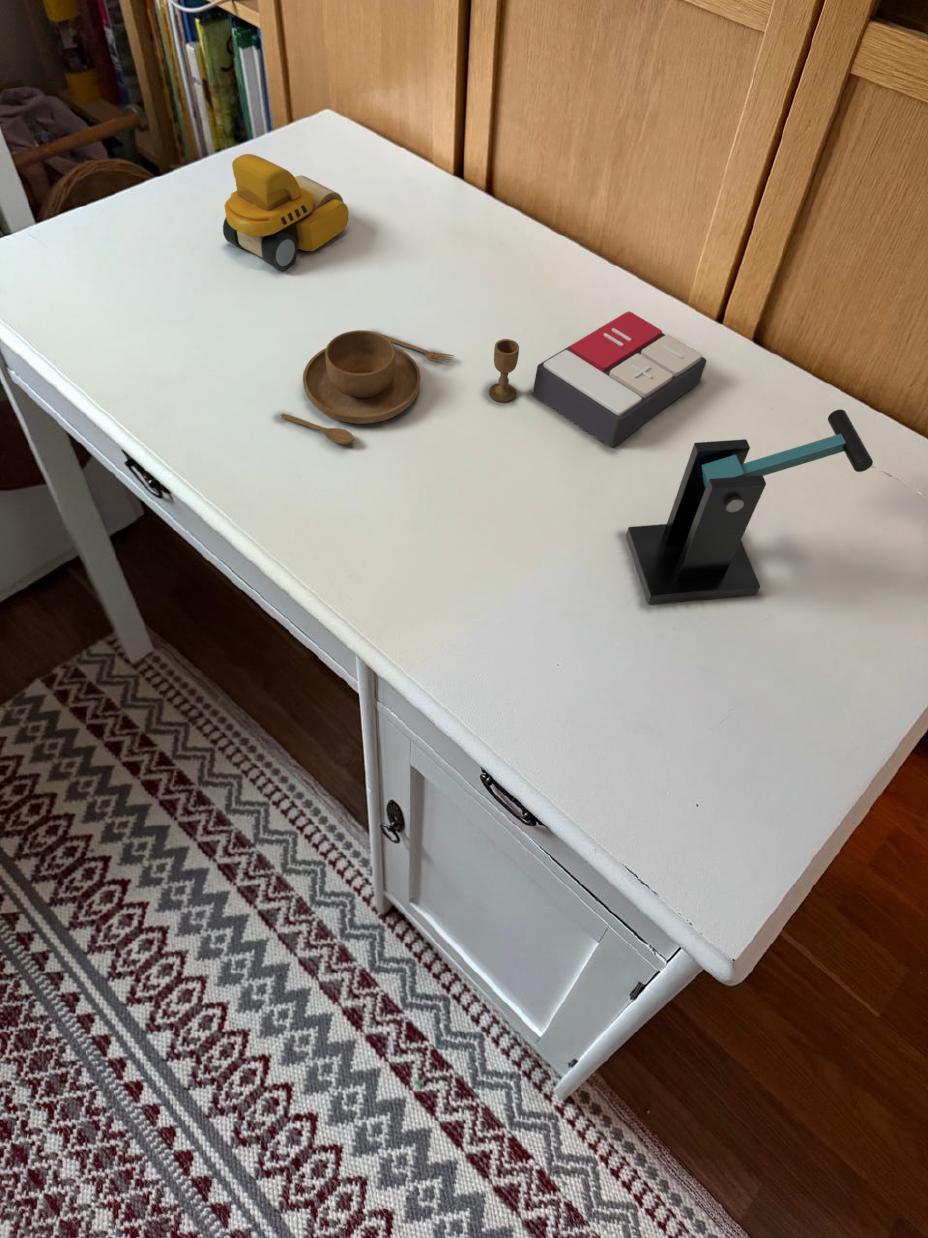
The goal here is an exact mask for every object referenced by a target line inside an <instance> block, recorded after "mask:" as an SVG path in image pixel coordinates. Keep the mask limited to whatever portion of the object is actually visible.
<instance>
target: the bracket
mask: <svg viewBox="0 0 928 1238" xmlns="http://www.w3.org/2000/svg"><path fill="white" fill-rule="evenodd" d="M750 450H751V446H750V445H749V442H748V440H747V439H745V438H744V439H729V440H716V441H715V440H713V441H701V442H694V443H693V445H692V449H691V452H690V455H689V458H688V460H687V464H686V466H685V470H684V472H683V475H682V478H681V480H680V484H679V487H678V490H677V493H676V496H675V498H674V501H673V505H672V508H671V511H670V514H669V516H668V519H667V522H666V523H664V524H663V523H662V524H650V525H649V524H648V525H637V526H628V528H627V530H626V534H625V536H626V540H627V543H628V546H629V549H630V552H631V556H632V558H633V561H634V564H635V569H636V571H637V574H638V578H639V580H640V583H641V587H642V590H643V593H644V596H645V600H646V601H647V602H646V603H647V604H648V605H654V604H655V605H656V604H666V603H667V604H668V603H678V602H688V601H690V602H691V601H701V600H711V599H720V598H722V599H723V598H735V597H744V596H755V595H757V594H758V593H759V590H760V589H761V584H760V582H759V580H758V577H757V575H756V573H755V569H754V567H753V565H752V563H751V560H750V558H749V556H748V554H747V551H746V548H745V546H744V543H743V541H742V539H743V536H744V535H745V533H746V530H747V528H748V526H749V523H750V521H751V518H752V517H753V515H754V512H755V510H756V508H757V506H758V503H759V501H760V499H761V496H762V494H763V493H764V491H765V488H766V486H767V482H766V480H765V478H764V476H762V475H757V476H743V477H729V478H715V479H709V481H708V484H707V486H706V488H705V485H704V481H703V473H702V465H703V464H707V463H710V462H713V461H716V460H720V459H723V458H726V457H729V456H732V455H736V456H737V458H738V460H739V463H740V465H741V464H744V463H745V461H746V459H747V456H748V455H749V452H750Z"/></svg>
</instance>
